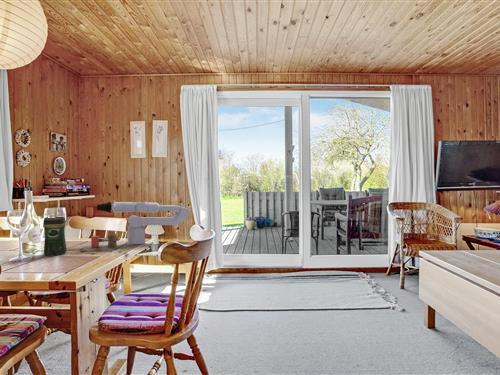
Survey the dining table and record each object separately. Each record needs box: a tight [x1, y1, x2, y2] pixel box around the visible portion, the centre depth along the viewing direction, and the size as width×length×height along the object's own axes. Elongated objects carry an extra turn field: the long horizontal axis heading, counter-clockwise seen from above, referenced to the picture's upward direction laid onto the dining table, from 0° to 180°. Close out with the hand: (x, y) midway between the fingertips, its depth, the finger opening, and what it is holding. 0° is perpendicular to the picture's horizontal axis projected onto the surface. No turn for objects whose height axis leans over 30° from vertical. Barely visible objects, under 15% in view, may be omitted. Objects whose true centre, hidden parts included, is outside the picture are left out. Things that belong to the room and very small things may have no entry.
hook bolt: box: [90, 235, 121, 248], centre depth 181 cm, size 14×4×6 cm, turn 114°
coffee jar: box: [42, 216, 68, 257], centre depth 166 cm, size 10×8×19 cm
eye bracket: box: [81, 232, 119, 253], centre depth 180 cm, size 17×12×7 cm
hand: (96, 207), depth 186 cm, fingers open, 7 cm apart
